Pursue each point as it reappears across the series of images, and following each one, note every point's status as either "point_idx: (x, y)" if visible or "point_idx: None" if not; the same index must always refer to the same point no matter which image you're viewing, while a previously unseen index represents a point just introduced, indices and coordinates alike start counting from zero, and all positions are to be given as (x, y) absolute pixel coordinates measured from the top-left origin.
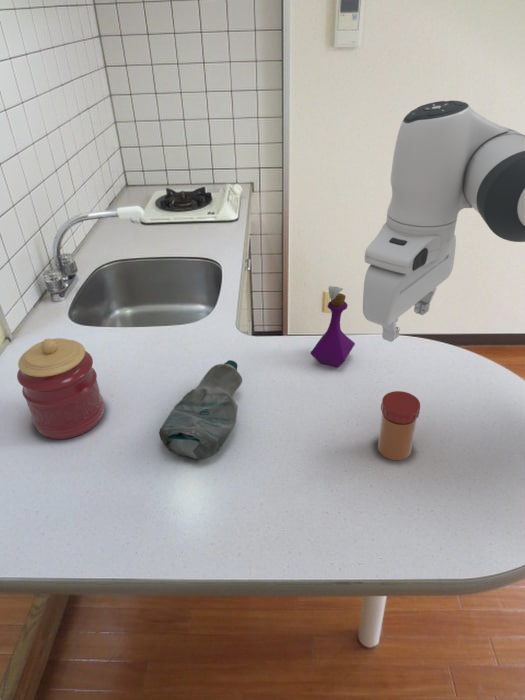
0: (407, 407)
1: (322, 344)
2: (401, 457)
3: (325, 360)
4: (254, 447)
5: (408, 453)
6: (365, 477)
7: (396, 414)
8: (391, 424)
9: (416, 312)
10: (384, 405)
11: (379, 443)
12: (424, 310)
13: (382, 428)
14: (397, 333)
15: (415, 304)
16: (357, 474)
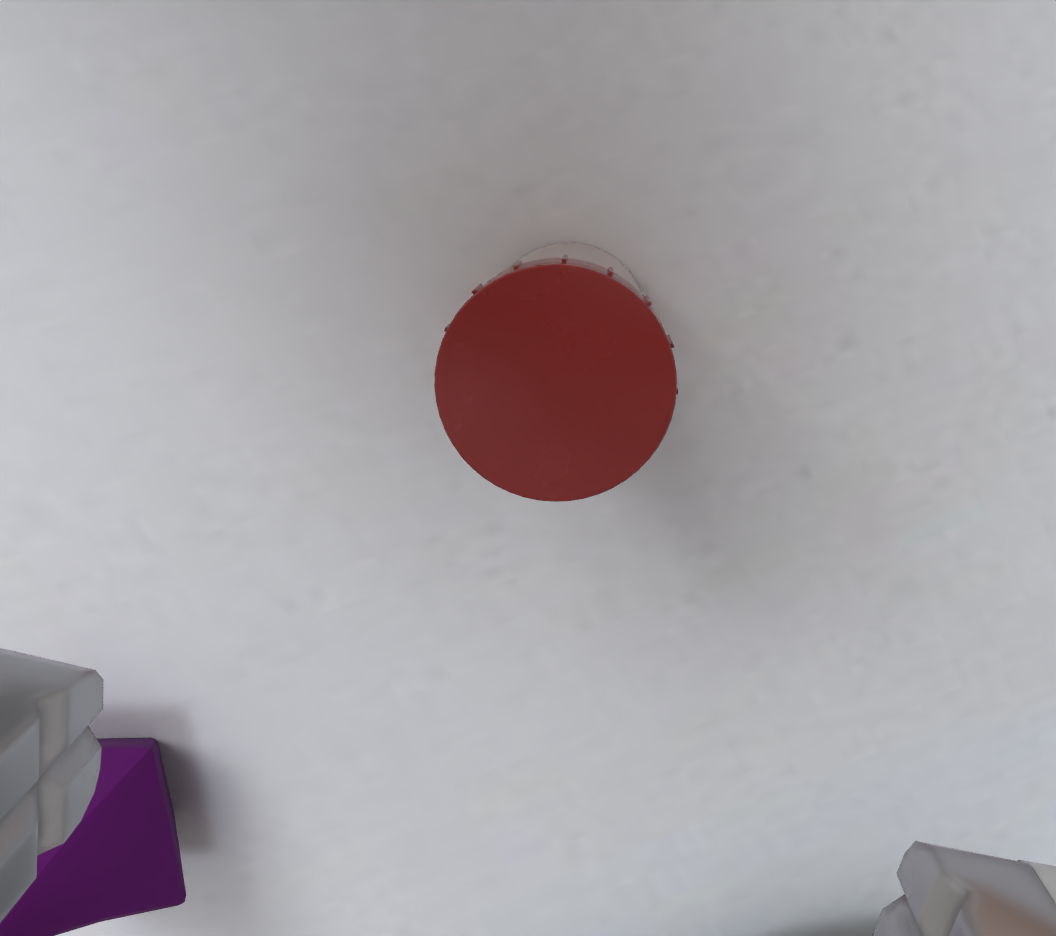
0: (583, 337)
1: (123, 898)
2: (628, 271)
3: (170, 817)
4: (829, 839)
5: (592, 248)
6: (807, 381)
7: (676, 379)
8: None
9: (93, 771)
10: (630, 471)
11: None
12: (39, 708)
13: None
14: (1006, 909)
15: (14, 893)
16: (804, 419)
